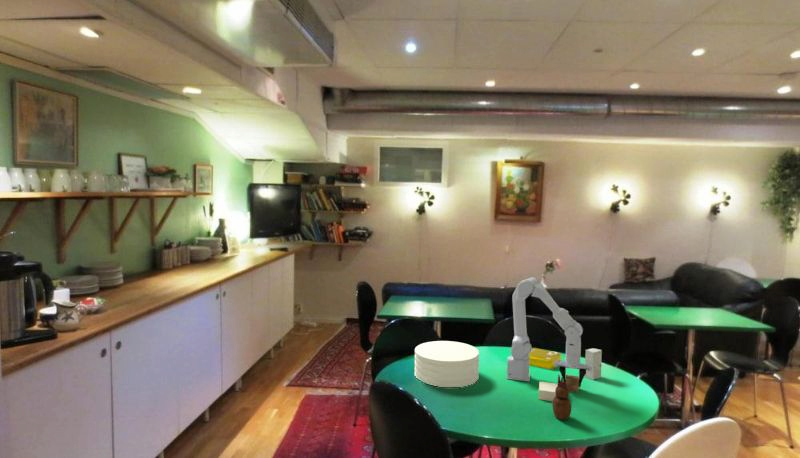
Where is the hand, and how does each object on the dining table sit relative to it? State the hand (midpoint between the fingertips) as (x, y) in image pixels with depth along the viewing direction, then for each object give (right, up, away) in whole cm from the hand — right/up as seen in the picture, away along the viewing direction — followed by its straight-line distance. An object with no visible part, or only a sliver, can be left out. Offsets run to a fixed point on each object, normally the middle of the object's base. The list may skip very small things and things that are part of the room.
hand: (571, 385), depth 193 cm
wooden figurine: (-13, -3, -25) cm, 28 cm away
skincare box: (+14, -1, +14) cm, 20 cm away
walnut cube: (0, -2, 0) cm, 2 cm away
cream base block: (-11, -2, -7) cm, 13 cm away
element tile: (-3, 0, +33) cm, 33 cm away
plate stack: (-50, -1, +14) cm, 52 cm away
